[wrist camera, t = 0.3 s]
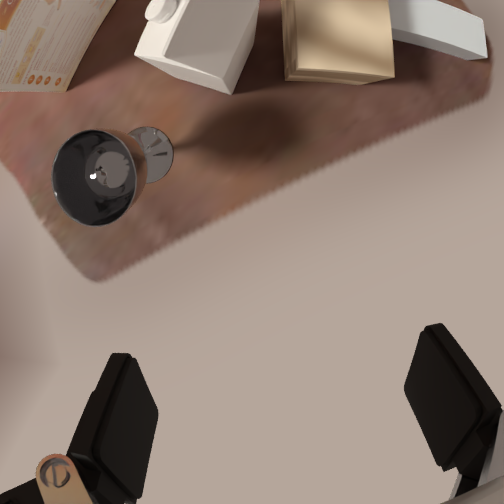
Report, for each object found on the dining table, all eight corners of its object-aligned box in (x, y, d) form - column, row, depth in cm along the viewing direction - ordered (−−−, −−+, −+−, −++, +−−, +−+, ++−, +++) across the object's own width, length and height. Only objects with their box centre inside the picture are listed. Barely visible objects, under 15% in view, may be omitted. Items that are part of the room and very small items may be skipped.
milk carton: (254, 43, 30) (264, -24, 13) (231, 95, 33) (218, 71, 16) (197, 26, 29) (157, -46, 12) (175, 77, 32) (111, 44, 15)
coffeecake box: (83, -16, 25) (0, -65, 7) (122, -6, 26) (44, -68, 9) (32, 78, 30) (-72, 79, 12) (66, 94, 31) (-42, 96, 14)
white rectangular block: (365, -4, 28) (380, -16, 23) (462, 24, 28) (482, 19, 23) (369, 35, 30) (385, 26, 25) (466, 60, 30) (487, 57, 26)
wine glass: (171, 117, 34) (126, 118, 20) (181, 181, 37) (145, 219, 23) (111, 131, 34) (43, 144, 20) (122, 191, 37) (64, 233, 24)
